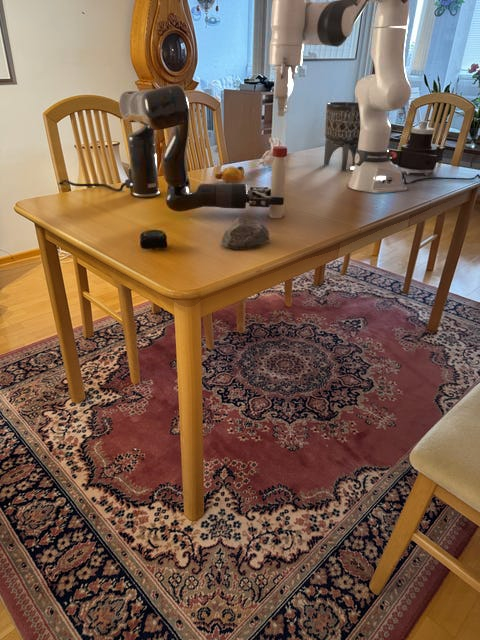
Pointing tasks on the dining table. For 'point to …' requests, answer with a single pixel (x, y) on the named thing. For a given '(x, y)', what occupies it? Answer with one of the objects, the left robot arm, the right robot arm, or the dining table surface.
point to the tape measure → (153, 239)
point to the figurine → (269, 154)
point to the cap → (279, 151)
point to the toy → (231, 174)
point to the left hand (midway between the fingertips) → (283, 197)
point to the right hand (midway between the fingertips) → (282, 114)
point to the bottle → (277, 185)
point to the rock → (245, 234)
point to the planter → (342, 130)
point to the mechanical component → (418, 152)
